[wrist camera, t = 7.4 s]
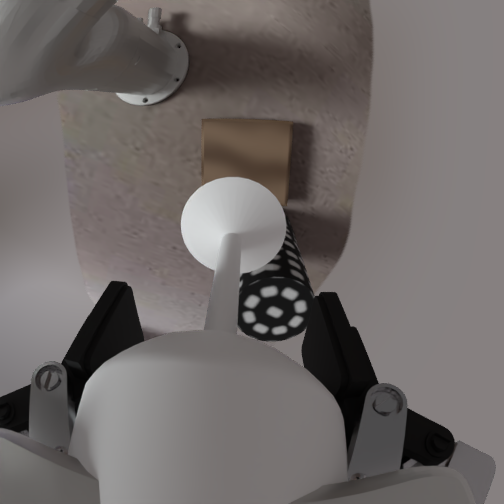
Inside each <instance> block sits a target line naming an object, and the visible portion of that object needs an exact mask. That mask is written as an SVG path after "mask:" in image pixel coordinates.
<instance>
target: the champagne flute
mask: <svg viewBox="0 0 504 504" xmlns="http://www.w3.org/2000/svg"><path fill="white" fill-rule="evenodd" d="M181 231H182V236H183V239H184V242H185V244H186V246H187V248H188V250H189V251H190V253H191V254H192V255H193V256H194V257H195V258H196V259H197V260H198V261H199V262H200V263H202V264H203V265H205V266H207V267H208V268H210V269H212V270H215V273H214V278H213V284H212V289H211V294H210V299H209V305H208V310H207V316H206V321H205V327H204V330H192V331H181V332H173V333H169V334H165V335H161V336H157V337H155V338H152V339H149V340H147V341H144V342H141V343H139V344H136V345H134V346H132V347H130V348H128V349H126V350H124V351H122V352H121V353H119V354H117V355H116V356H114V357H112V358H111V359H109V360H107V361H106V362H104V363H103V364H102V365H101V366H100V367H99V368H98V369H97V370H96V371H95V372H94V373H93V375H92V376H91V377H90V378H89V380H88V381H87V382H86V384H85V388H84V391H83V394H82V398H81V401H80V405H79V408H78V412H77V416H76V420H75V424H74V428H73V432H72V436H71V440H70V445H69V450H68V455H70V456H72V457H75V458H77V459H78V460H79V461H80V463H81V464H82V465H83V467H84V468H85V469H86V471H88V472H89V473H90V474H91V475H92V476H94V477H95V478H96V479H97V480H98V481H99V490H100V504H289V503H291V502H293V501H295V500H297V499H299V498H301V497H303V496H305V495H307V494H309V493H311V492H313V491H315V490H317V489H319V488H320V487H321V486H322V485H328V484H335V483H341V482H347V481H348V456H347V445H346V435H345V426H344V419H343V416H342V412H341V409H340V407H339V405H338V404H337V402H336V400H335V398H334V396H333V395H332V394H331V393H330V392H329V391H328V390H327V388H326V387H325V386H324V385H323V384H322V383H321V382H320V381H319V380H318V379H316V378H315V377H314V376H313V375H312V374H311V373H310V372H309V371H308V370H307V369H306V368H304V367H303V366H301V365H300V364H298V363H297V362H295V361H294V360H292V359H291V358H289V357H288V356H286V355H285V354H283V353H282V352H280V351H279V350H277V349H276V348H274V347H272V346H269V345H267V344H265V343H263V342H260V341H258V340H255V339H251V338H248V337H244V336H241V335H237V323H238V302H239V283H240V274H242V273H248V272H251V271H254V270H257V269H259V268H261V267H262V266H264V265H266V264H267V263H268V262H270V261H271V260H272V259H273V258H274V257H275V255H276V254H277V253H278V252H279V250H280V248H281V246H282V245H283V242H284V239H285V235H286V218H285V214H284V211H283V208H282V206H281V204H280V203H279V201H278V200H277V198H276V197H275V196H274V195H273V194H272V193H271V192H270V191H269V190H268V189H267V188H265V187H264V186H262V185H261V184H259V183H257V182H255V181H252V180H250V179H245V178H240V177H225V178H220V179H216V180H213V181H211V182H208V183H206V184H205V185H203V186H202V187H200V188H199V189H197V190H196V191H195V193H194V194H193V195H192V196H191V197H190V198H189V200H188V202H187V203H186V205H185V207H184V210H183V213H182V219H181Z"/></svg>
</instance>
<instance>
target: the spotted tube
mask: <svg viewBox="0 0 504 504" xmlns="http://www.w3.org/2000/svg"><path fill="white" fill-rule="evenodd" d="M285 218H286V235H285V239H284V242H283V245H282V246H281V248H280V250H279V252H278V253H277V254H276V255H275V257H274V258H273V259H272V260H271V261H270V262H268V263H267V264H266V265H264V266H262V267H261V268H259V269H257V270H254V271H251V272H248V273H242V274H240V283H239V302H238V323H237V326H238V328H239V329H240V330H241V331H242V332H244V333H245V334H246V335H248V336H250V337H252V338H255V339H258V340H262V341H282V340H286V339H289V338H292V337H294V336H296V335H298V334H300V333H301V332H303V331H304V330H305V329H306V328H307V325H308V321H309V317H310V313H311V309H312V305H313V301H314V293H313V290H312V287H311V284H310V281H309V278H308V275H307V271H306V268H305V265H304V262H303V259H302V256H301V253H300V250H299V247H298V244H297V241H296V238H295V235H294V233H293V230H292V227H291V224H290V221H289V219H288V218H287V216H286V215H285Z"/></svg>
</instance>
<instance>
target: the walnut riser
mask: <svg viewBox="0 0 504 504" xmlns="http://www.w3.org/2000/svg"><path fill="white" fill-rule="evenodd" d="M292 132H293V122H291V121H277V120H259V119H202V186H203V185H205V184H206V183H208V182H211V181H213V180H216V179H220V178H225V177H240V178H245V179H250V180H252V181H255V182H257V183H259V184H261V185H262V186H264V187H265V188H267V189H268V190H269V191H270V192H271V193H272V194H273V195H274V196H275V197H276V198H277V200H278V201H279V203H280V204H281V206H287V201H288V188H289V176H290V162H291V148H292Z"/></svg>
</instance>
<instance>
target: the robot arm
mask: <svg viewBox="0 0 504 504" xmlns="http://www.w3.org/2000/svg"><path fill="white" fill-rule="evenodd" d="M117 1H118V0H0V106H4V105H11V104H16V103H20V102H24V101H27V100H30V99H33V98H36V97H39V96H42V95H45V94H48V93H51V92H55V91H60V90H88V91H102V92H112V93H116V95H117V96H118V97H119V98H120V99H122V100H123V101H125V102H127V103H129V104H132V105H138V106H145V105H152V104H156V103H158V102H161V101H163V100H165V99H166V98H168V97H169V96H171V95H172V94H173V93H174V92H175V91H176V90H177V89H178V88H179V87H180V85H181V84H182V82H183V81H184V79H185V77H186V74H187V71H188V67H189V54H188V51H187V48H186V46H185V44H184V43H183V42H182V41H181V39H180V38H178V37H177V36H176V35H174V34H172V33H171V32H168V31H164V30H162V26H161V25H159V24H160V19H161V12H162V9H161V8H151V9H149V12H148V26H147V25H145V24H144V23H143V18H136V17H135V16H133V15H132V14H131V13H130V12H128V11H127V10H125V9H124V8H122V7H119V6H117V5H114V4H115V3H116V2H117ZM179 46H181V47H180V48H178V47H179ZM177 79H179V81H178V82H177ZM146 99H148V102H146ZM141 342H144V336H143V332H142V329H141V325H140V321H139V317H138V313H137V309H136V305H135V300H134V296H133V291H132V288H131V287H130V286H128V284H127V283H126V282H120V281H111V282H110V284H109V285H108V287H107V288H106V290H105V291H104V293H103V294H102V296H101V297H100V299H99V301H98V302H97V304H96V305H95V307H94V309H93V310H92V312H91V313H90V315H89V316H88V317H87V319H86V321H85V323H84V324H83V326H82V327H81V329H80V331H79V332H78V334H77V336H76V338H75V340H74V341H73V343H72V345H71V347H70V348H69V350H68V352H67V354H66V355H65V357H64V359H63V361H62V363H61V364H60V363H58V362H55V361H49V362H45V363H43V364H41V365H39V366H38V367H37V368H36V369H35V371H34V373H33V375H32V379H31V384H30V385H28V386H25V387H23V388H21V389H18V390H16V391H14V392H12V393H9V394H7V395H4V396H2V397H0V504H100V490H99V481H98V480H97V479H96V478H95V477H94V476H92V475H91V474H90V473H89V472H88V471H86V469H85V468H84V467H83V465H82V464H81V463H80V461H79V460H78V459H77V458H75V457H72V456H70V455H68V450H69V445H70V440H71V436H72V432H73V428H74V424H75V420H76V416H77V412H78V408H79V405H80V401H81V398H82V394H83V391H84V388H85V384H86V382H87V381H88V380H89V378H90V377H91V376H92V375H93V373H94V372H95V371H96V370H97V369H98V368H99V367H100V366H101V365H102V364H103V363H104V362H106V361H107V360H109V359H111V358H112V357H114V356H116V355H117V354H119V353H121V352H122V351H124V350H126V349H128V348H130V347H132V346H134V345H136V344H139V343H141ZM302 358H303V363H304V368H306V369H307V370H308V371H309V372H310V373H311V374H312V375H313V376H314V377H315V378H316V379H318V380H319V381H320V382H321V383H322V384H323V385H324V386H325V387H326V388H327V390H328V391H329V392H330V393H331V394H332V395H333V396H334V398H335V400H336V402H337V404H338V405H339V407H340V409H341V412H342V416H343V419H344V426H345V435H346V445H347V456H348V481H347V482H341V483H335V484H328V485H322V486H321V487H320V488H319V489H317V490H315V491H313V492H311V493H309V494H307V495H305V496H303V497H301V498H299V499H297V500H295V501H293V502H291V503H289V504H484V502H485V499H486V497H487V494H488V491H489V489H490V486H491V483H492V480H493V477H494V474H495V469H496V465H495V461H494V460H493V458H492V457H491V456H489V455H487V454H485V453H483V452H481V451H479V450H477V449H475V448H473V447H471V446H469V445H467V444H465V443H463V442H461V441H457V442H454V438H453V435H452V433H451V432H450V431H449V430H448V429H446V428H445V427H443V426H441V425H439V424H437V423H435V422H433V421H431V420H429V419H427V418H425V417H423V416H422V415H420V414H418V413H416V412H414V411H412V410H410V409H408V408H407V399H406V397H405V394H404V393H403V392H402V391H401V390H400V389H399V388H398V387H396V386H394V385H391V384H387V383H381V384H379V383H378V381H377V378H376V375H375V372H374V370H373V367H372V365H371V362H370V360H369V357H368V355H367V352H366V350H365V347H364V345H363V342H362V340H361V337H360V335H359V333H358V330H357V329H356V328H355V327H351V326H350V324H349V321H348V319H347V317H346V314H345V312H344V309H343V307H342V304H341V302H340V300H339V298H338V296H337V293H335V292H321V293H320V294H319V296H315V297H314V301H313V305H312V309H311V313H310V317H309V321H308V325H307V329H306V333H305V337H304V340H303V344H302Z"/></svg>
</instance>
